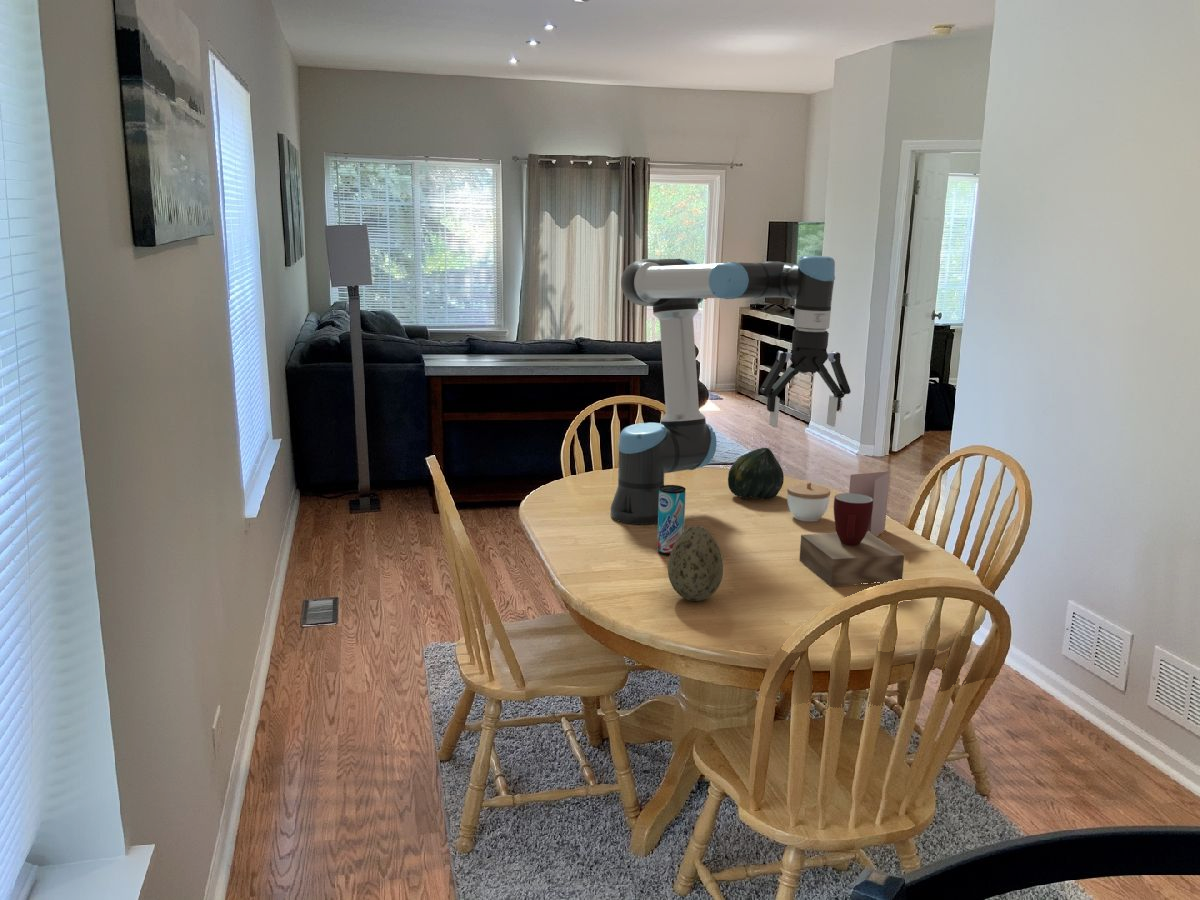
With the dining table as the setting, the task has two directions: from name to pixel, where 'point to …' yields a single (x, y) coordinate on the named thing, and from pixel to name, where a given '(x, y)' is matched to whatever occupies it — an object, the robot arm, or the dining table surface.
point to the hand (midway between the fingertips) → (802, 425)
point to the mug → (852, 517)
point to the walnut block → (850, 559)
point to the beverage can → (670, 517)
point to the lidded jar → (807, 501)
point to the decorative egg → (695, 564)
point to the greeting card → (873, 496)
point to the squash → (756, 475)
